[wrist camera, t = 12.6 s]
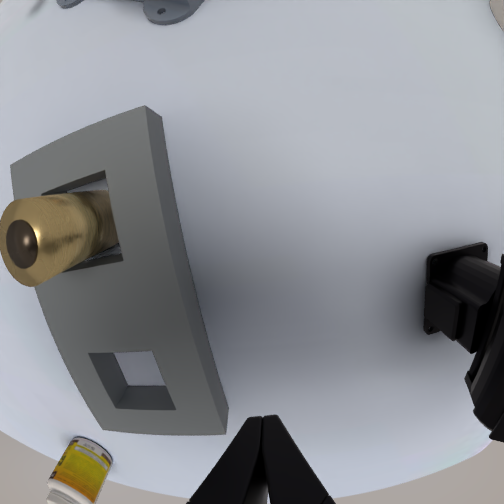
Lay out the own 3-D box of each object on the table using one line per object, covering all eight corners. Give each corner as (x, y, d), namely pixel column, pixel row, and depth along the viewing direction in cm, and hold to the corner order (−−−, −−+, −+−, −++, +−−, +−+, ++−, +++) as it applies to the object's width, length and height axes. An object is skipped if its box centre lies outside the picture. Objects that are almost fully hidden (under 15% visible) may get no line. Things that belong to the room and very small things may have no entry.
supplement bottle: (72, 428, 23) (35, 489, 13) (115, 451, 23) (86, 518, 13) (72, 449, 24) (42, 503, 14) (111, 469, 24) (87, 528, 14)
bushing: (120, 183, 17) (38, 188, 9) (132, 242, 18) (60, 282, 10) (74, 198, 17) (-10, 211, 9) (85, 252, 18) (8, 291, 10)
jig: (161, 116, 16) (144, 105, 13) (228, 408, 21) (226, 434, 18) (35, 165, 16) (10, 165, 14) (114, 408, 21) (102, 429, 18)
